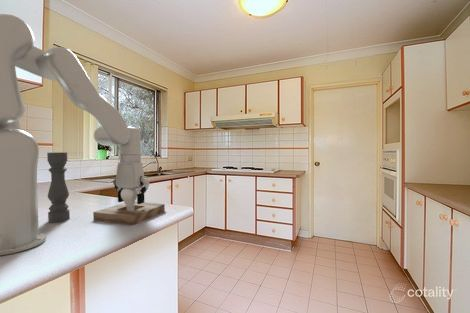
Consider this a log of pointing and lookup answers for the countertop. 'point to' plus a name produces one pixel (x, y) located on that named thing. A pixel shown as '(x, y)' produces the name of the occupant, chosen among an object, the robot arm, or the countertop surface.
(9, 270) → the countertop surface
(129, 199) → the lightbulb
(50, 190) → the candle holder
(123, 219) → the socket block
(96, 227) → the countertop surface
